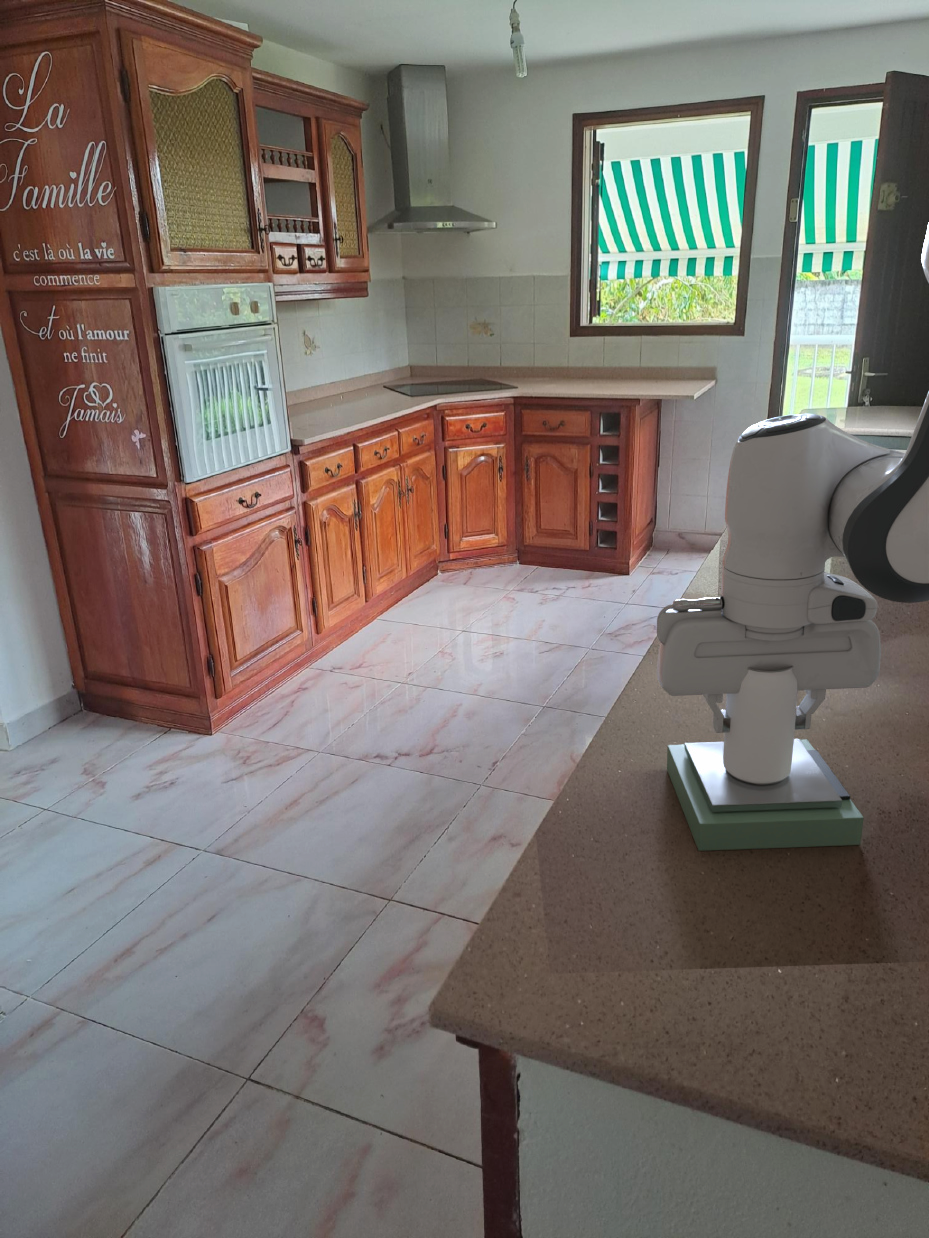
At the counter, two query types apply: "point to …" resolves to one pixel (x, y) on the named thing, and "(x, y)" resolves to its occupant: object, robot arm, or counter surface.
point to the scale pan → (732, 794)
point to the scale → (763, 815)
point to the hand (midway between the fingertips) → (761, 728)
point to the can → (761, 727)
